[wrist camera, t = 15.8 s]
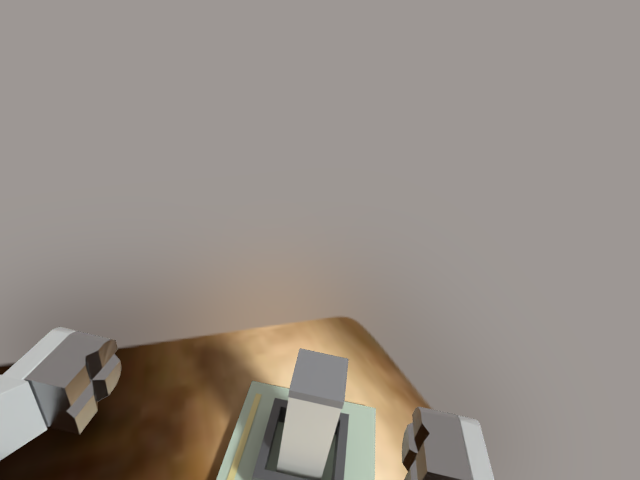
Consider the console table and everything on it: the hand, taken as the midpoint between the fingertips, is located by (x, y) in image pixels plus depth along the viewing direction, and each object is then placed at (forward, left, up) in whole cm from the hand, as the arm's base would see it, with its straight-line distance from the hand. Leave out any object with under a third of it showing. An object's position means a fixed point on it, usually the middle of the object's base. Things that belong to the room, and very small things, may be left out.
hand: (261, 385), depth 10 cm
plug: (+2, +13, -27) cm, 30 cm away
